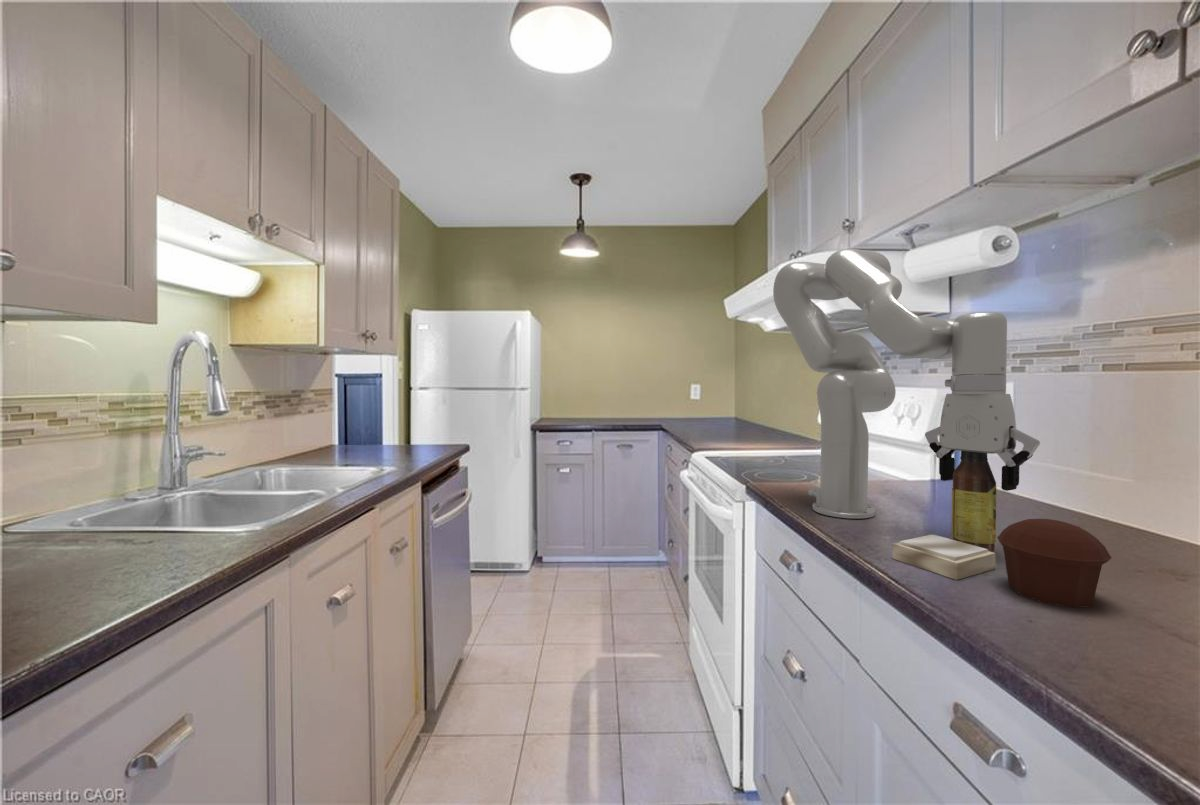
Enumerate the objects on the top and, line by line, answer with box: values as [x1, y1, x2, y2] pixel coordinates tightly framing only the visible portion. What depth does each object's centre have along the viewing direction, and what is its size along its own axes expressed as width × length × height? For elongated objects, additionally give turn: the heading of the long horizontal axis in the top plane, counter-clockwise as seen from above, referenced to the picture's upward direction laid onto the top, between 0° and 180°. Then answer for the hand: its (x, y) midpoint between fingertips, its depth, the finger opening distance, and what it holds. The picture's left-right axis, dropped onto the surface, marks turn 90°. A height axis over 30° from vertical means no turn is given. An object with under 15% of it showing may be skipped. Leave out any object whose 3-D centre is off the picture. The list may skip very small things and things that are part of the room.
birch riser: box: [892, 533, 997, 581], centre depth 82 cm, size 10×10×3 cm
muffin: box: [996, 518, 1112, 609], centre depth 70 cm, size 12×11×10 cm
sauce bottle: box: [951, 451, 997, 553], centre depth 88 cm, size 6×6×20 cm
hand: (976, 484), depth 88 cm, fingers open, 9 cm apart
